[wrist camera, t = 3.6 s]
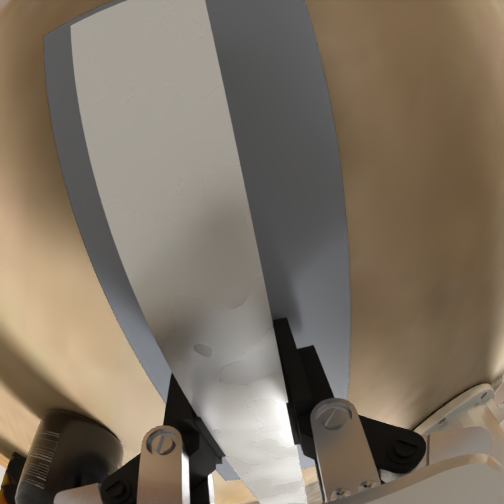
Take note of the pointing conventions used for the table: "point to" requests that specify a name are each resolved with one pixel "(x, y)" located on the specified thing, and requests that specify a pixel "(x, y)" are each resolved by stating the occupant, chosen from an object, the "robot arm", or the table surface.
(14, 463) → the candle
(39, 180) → the table surface
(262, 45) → the board
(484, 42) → the table surface
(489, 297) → the table surface
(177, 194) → the metal bar
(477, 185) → the table surface
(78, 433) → the supplement bottle
